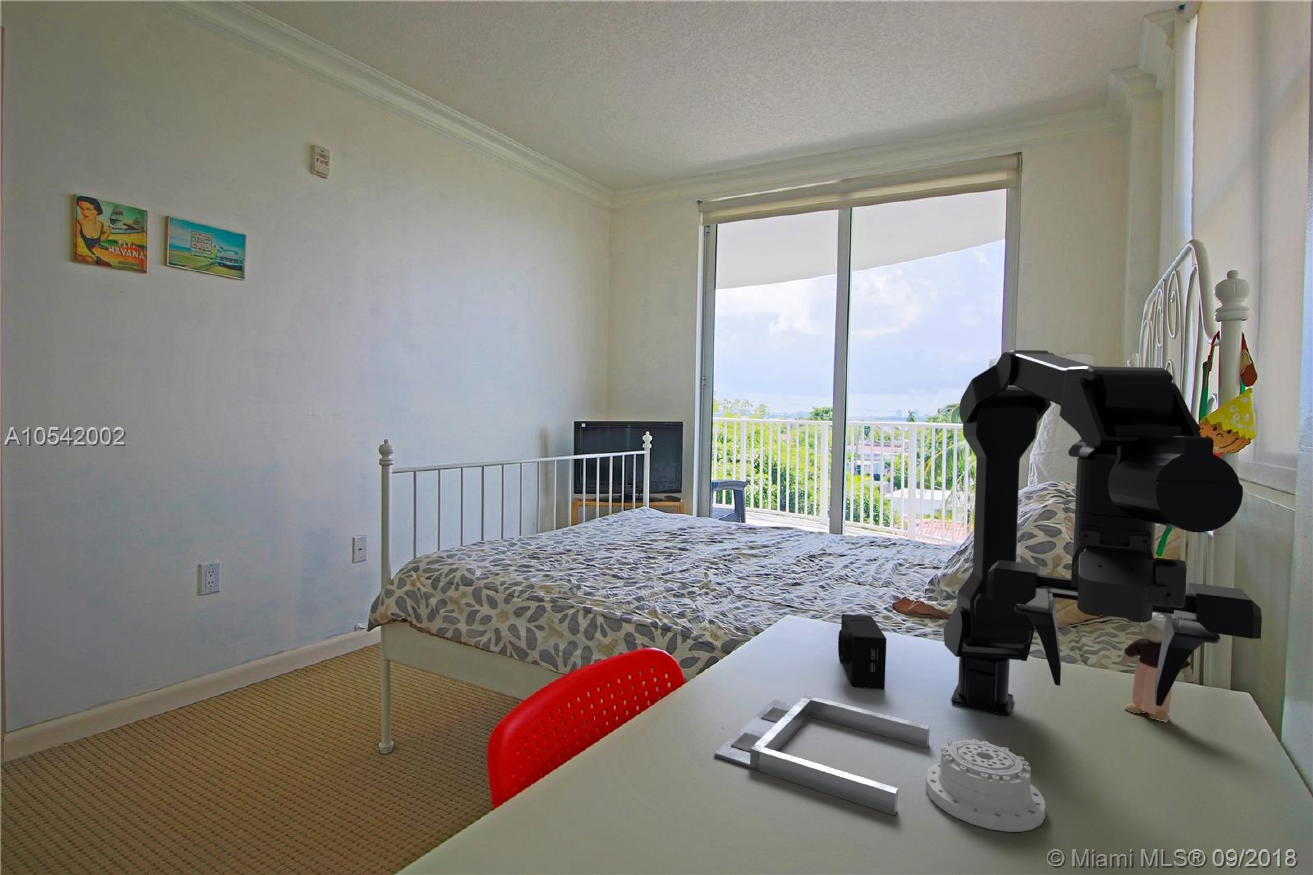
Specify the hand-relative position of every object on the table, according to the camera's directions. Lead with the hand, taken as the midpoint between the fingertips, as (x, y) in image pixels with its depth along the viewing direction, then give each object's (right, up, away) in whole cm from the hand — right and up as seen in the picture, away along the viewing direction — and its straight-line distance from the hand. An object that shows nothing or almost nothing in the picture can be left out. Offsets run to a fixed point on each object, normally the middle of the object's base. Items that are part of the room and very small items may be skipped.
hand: (1106, 694), depth 58 cm
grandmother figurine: (+22, -12, +24) cm, 35 cm away
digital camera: (-11, -11, +36) cm, 39 cm away
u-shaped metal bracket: (-21, -11, +13) cm, 27 cm away
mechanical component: (-8, -12, +5) cm, 15 cm away
